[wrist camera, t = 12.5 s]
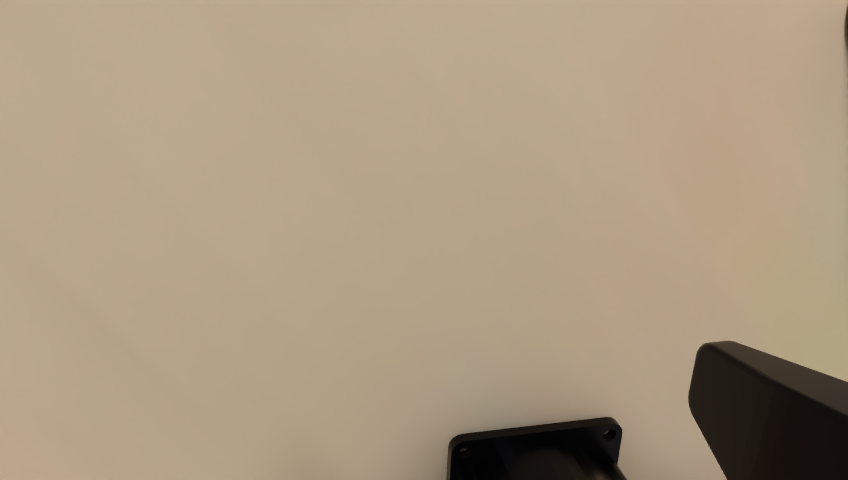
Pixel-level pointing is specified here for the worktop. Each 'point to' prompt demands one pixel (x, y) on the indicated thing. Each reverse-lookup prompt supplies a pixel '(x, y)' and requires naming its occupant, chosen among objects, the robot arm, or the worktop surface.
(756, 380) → the robot arm
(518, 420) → the worktop surface
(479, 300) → the worktop surface
